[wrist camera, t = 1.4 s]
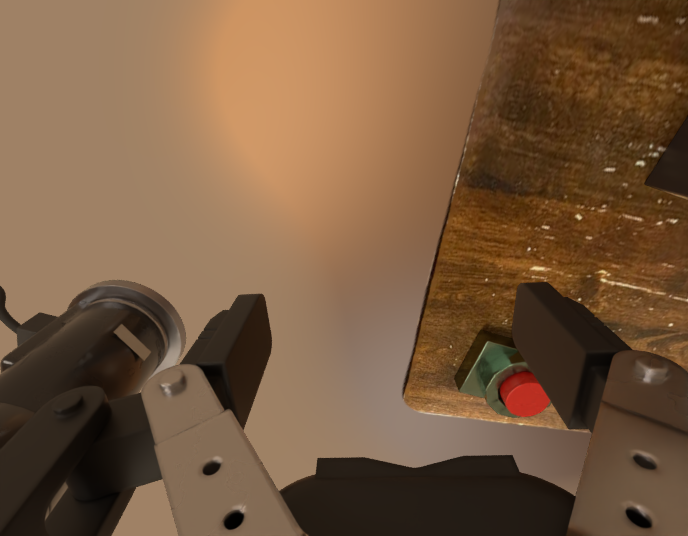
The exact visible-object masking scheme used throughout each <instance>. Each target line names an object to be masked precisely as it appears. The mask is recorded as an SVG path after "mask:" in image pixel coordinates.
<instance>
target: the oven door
mask: <svg viewBox="0 0 688 536" xmlns="http://www.w3.org/2000/svg"><path fill="white" fill-rule="evenodd" d="M645 185H647V186H650V187H653V188H656V189H659V190H662V191H666V192H670V193H674V194H678V195H682V196H685V197H688V117H687V118H686V120H685V121H684V123H683V124H682V126H681V127H680V129H679V131H678V132H677V134H676V135H675V137H674V138H673V140H672V142H671V143H670V145H669V146H668V148H667V149H666V151H665V152H664V154H663V156H662V157H661V159H660V160H659V162H658V163H657V165H656V167H655V168H654V170H653V171H652V173H651V174H650V176H649V177H648V179H647V181H646V182H645Z"/></svg>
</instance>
